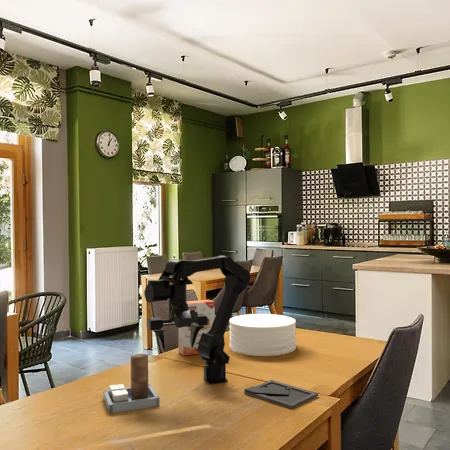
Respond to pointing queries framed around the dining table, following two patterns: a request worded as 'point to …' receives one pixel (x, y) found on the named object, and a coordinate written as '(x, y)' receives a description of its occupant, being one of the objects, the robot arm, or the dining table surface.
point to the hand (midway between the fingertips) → (177, 348)
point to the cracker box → (184, 333)
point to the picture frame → (281, 394)
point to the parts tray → (134, 404)
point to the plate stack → (262, 334)
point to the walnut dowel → (139, 376)
